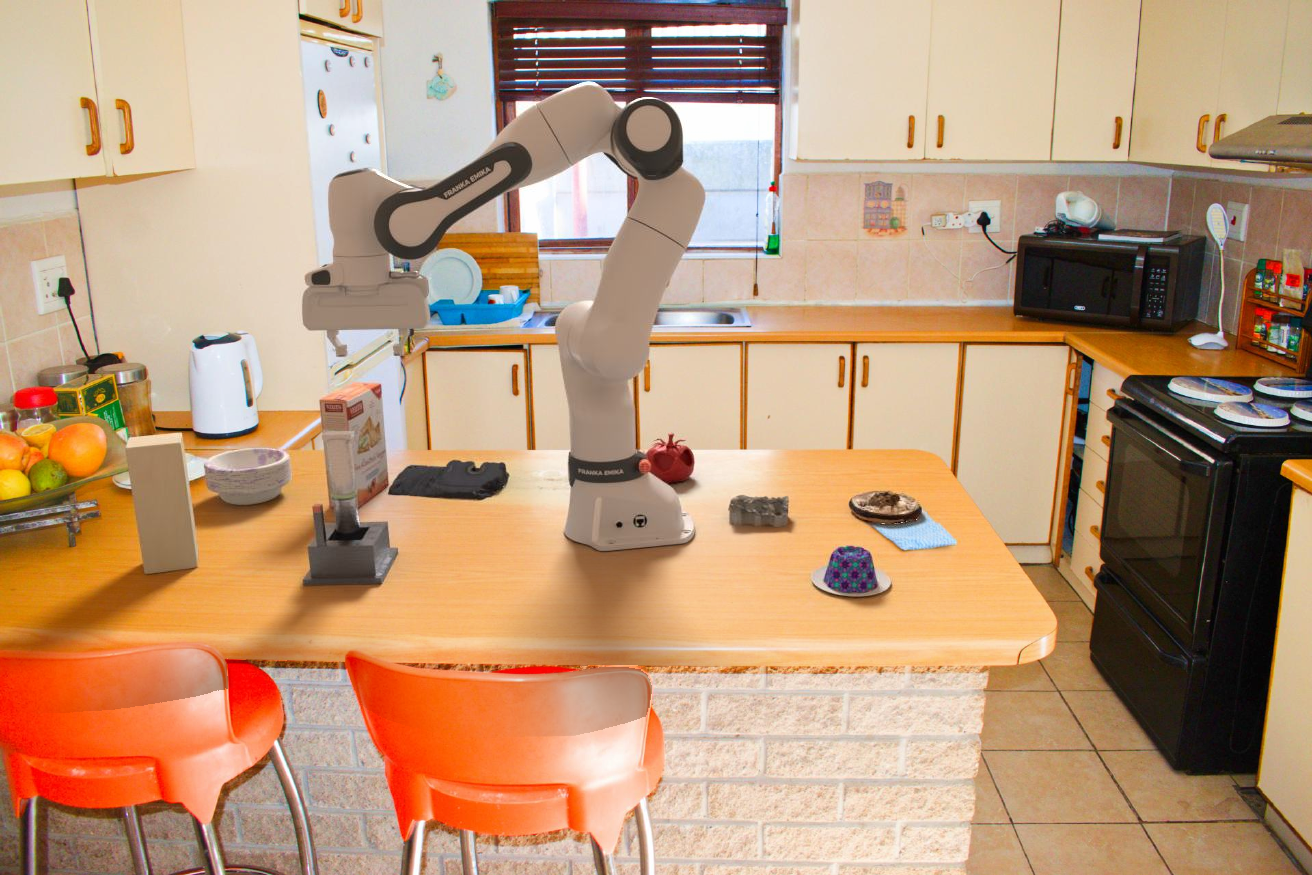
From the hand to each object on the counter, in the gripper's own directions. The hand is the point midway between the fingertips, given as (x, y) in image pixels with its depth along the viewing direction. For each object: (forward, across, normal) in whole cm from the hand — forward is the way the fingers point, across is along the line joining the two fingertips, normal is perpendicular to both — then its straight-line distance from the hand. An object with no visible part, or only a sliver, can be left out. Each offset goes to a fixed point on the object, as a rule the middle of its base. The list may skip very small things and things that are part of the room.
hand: (370, 355), depth 173 cm
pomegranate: (+31, -50, -25) cm, 64 cm away
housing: (+31, +2, +16) cm, 35 cm away
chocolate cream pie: (+32, -88, -4) cm, 94 cm away
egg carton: (+32, -65, -2) cm, 72 cm away
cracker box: (+31, +9, -18) cm, 37 cm away
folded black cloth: (+32, -7, -24) cm, 40 cm away
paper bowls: (+31, +30, -19) cm, 47 cm away
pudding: (+32, -76, +25) cm, 86 cm away
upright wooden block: (+31, +32, +12) cm, 46 cm away
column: (+24, +2, +16) cm, 29 cm away
